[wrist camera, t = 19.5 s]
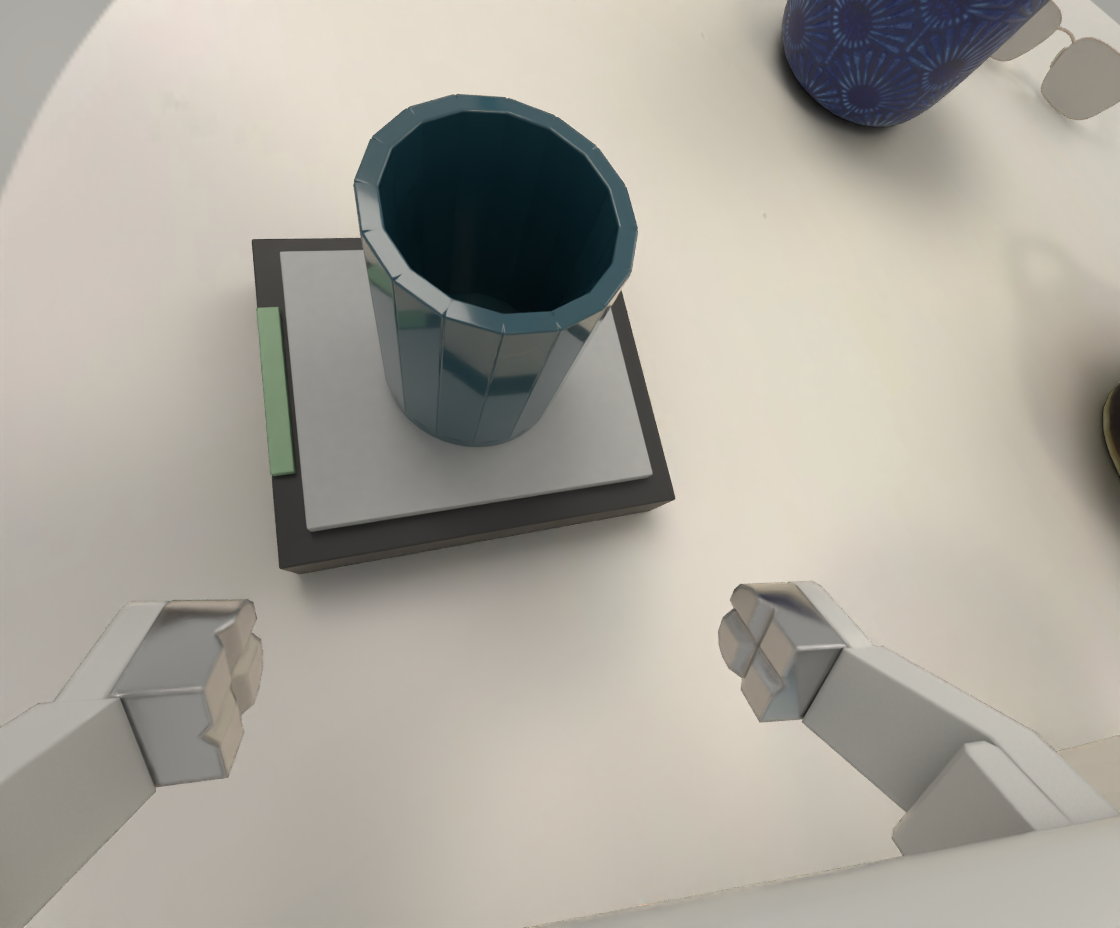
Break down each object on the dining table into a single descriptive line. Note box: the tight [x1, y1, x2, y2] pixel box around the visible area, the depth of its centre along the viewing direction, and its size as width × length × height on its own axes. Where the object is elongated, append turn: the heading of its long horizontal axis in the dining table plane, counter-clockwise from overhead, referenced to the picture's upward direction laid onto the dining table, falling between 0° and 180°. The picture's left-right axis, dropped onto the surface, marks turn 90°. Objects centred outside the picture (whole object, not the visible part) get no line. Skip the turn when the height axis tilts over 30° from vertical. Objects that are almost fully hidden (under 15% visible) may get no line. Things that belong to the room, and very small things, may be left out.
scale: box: [252, 238, 675, 574], centre depth 20 cm, size 14×12×3 cm
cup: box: [353, 94, 638, 447], centre depth 15 cm, size 6×6×8 cm
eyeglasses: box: [990, 0, 1120, 120], centre depth 39 cm, size 14×8×4 cm, turn 58°
